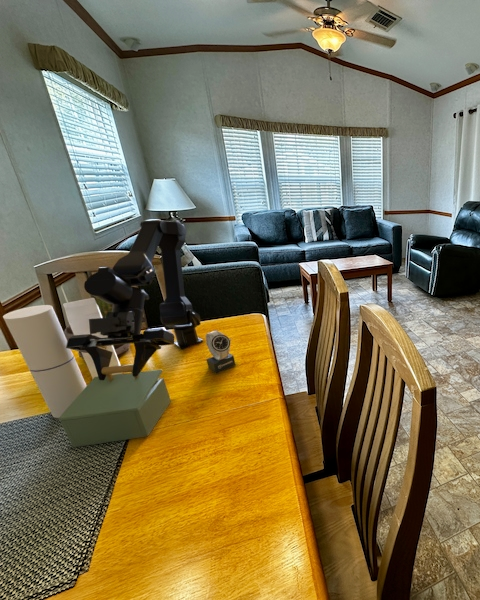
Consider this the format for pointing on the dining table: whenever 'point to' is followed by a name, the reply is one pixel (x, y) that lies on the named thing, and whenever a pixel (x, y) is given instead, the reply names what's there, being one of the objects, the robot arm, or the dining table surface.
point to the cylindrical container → (47, 355)
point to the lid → (112, 393)
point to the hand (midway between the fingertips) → (118, 378)
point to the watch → (219, 352)
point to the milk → (87, 327)
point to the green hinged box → (120, 421)
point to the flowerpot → (104, 310)
